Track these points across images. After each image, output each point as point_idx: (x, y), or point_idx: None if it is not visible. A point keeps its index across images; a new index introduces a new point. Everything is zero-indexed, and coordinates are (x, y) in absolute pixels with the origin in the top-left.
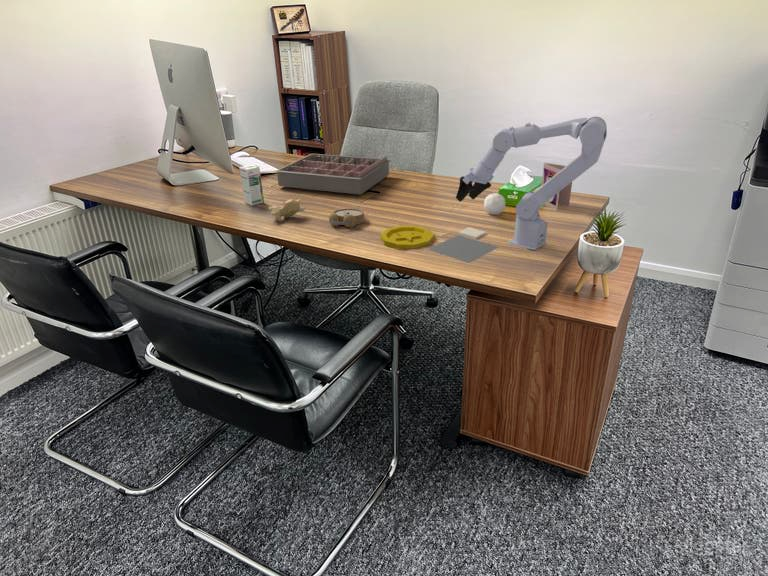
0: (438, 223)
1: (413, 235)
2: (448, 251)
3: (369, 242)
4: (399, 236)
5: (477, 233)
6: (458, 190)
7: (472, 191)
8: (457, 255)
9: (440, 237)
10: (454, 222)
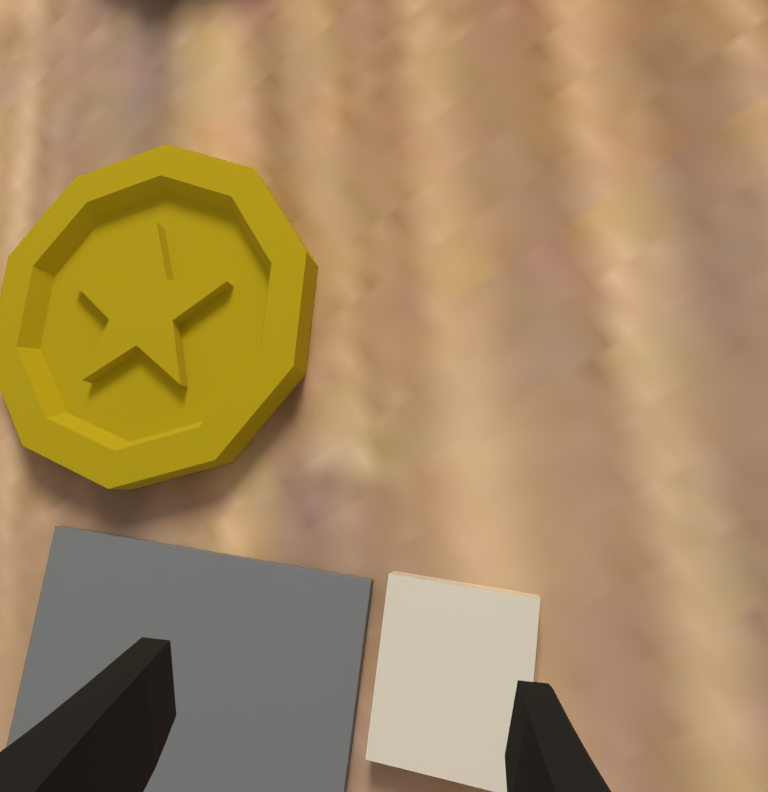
0: (524, 312)
1: (160, 340)
2: (79, 670)
3: (34, 181)
4: (107, 281)
5: (445, 739)
6: (25, 737)
7: (538, 787)
8: None
9: (286, 480)
10: (625, 403)
